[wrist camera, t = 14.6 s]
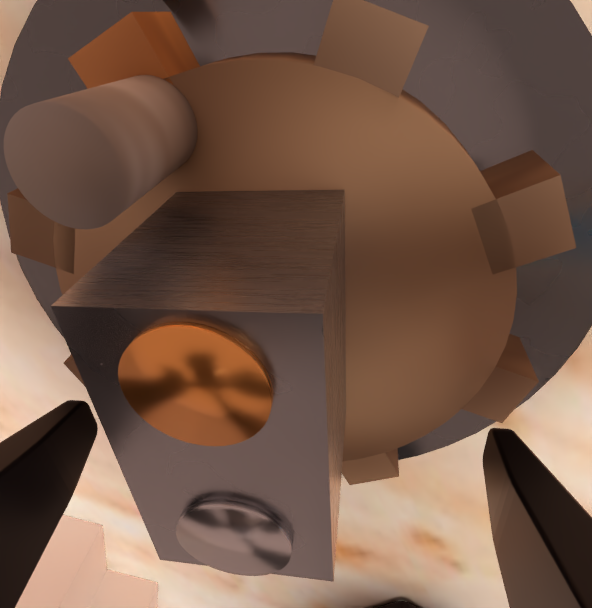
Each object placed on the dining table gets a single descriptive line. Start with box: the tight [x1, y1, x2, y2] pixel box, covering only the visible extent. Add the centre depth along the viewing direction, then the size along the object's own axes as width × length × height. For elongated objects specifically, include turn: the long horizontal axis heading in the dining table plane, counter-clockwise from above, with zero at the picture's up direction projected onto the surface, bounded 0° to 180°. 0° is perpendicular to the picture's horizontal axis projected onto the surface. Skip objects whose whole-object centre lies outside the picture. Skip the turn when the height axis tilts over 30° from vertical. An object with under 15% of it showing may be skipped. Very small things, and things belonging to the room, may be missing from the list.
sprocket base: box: [0, 0, 592, 460], centre depth 14 cm, size 19×19×1 cm
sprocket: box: [4, 0, 576, 485], centre depth 12 cm, size 15×15×5 cm
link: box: [51, 189, 346, 581], centre depth 10 cm, size 7×4×5 cm, turn 4°
